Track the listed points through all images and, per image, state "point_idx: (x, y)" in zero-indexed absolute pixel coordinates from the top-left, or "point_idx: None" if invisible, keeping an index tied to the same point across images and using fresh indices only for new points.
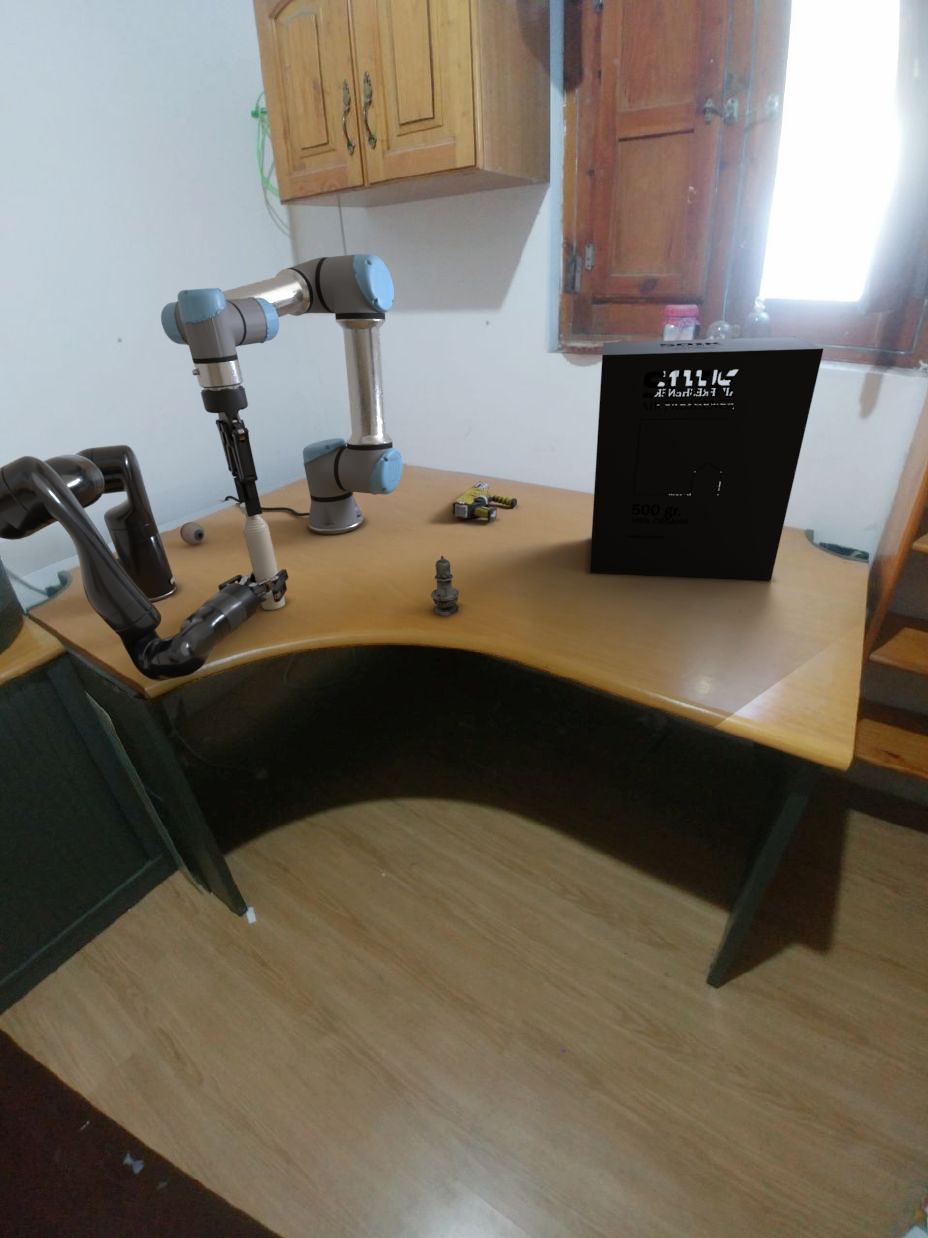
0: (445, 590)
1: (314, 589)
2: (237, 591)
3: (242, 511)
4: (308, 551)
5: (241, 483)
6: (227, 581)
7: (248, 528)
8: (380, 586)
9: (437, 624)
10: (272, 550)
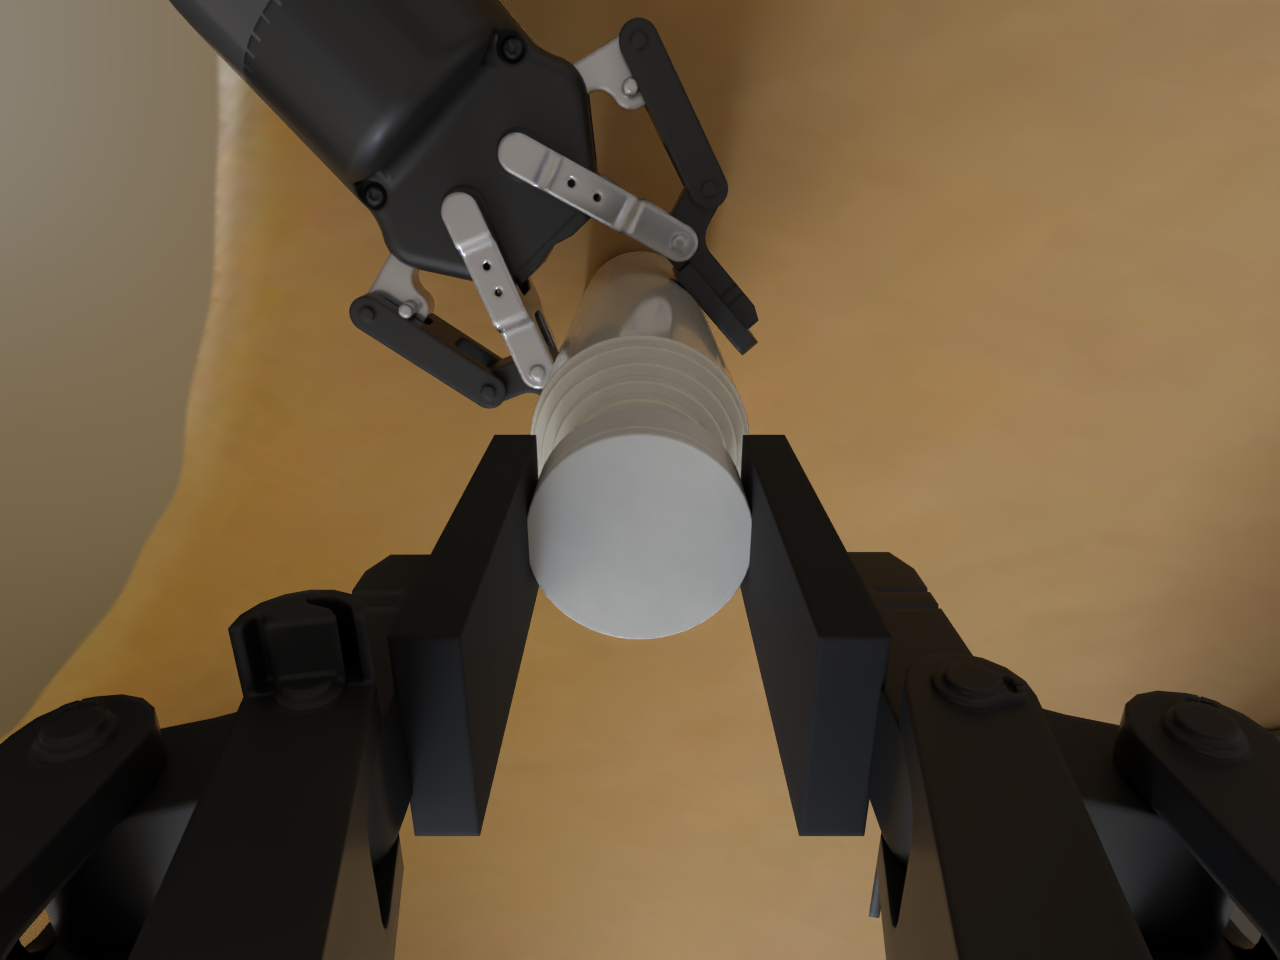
0: None
1: None
2: (298, 78)
3: (604, 418)
4: (1088, 634)
5: (264, 650)
6: (672, 97)
7: (575, 379)
8: (510, 724)
9: None
10: None
